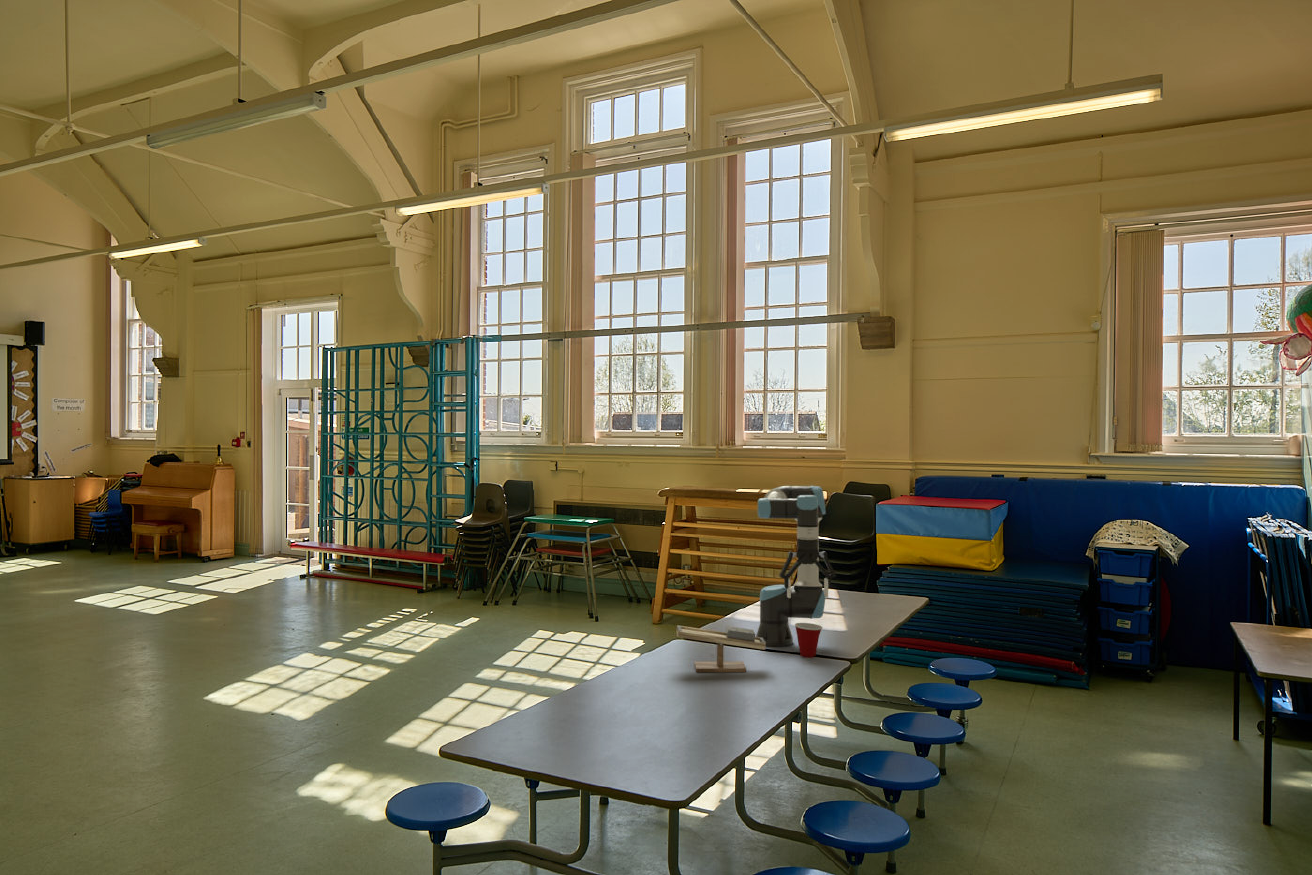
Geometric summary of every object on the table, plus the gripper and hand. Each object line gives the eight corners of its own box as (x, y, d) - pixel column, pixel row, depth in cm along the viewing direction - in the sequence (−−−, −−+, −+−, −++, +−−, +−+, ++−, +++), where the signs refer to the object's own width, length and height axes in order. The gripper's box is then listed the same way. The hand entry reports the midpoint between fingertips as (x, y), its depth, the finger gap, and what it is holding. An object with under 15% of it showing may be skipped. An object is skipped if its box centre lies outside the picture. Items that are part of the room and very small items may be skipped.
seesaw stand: (694, 664, 326) (694, 640, 326) (742, 664, 327) (742, 640, 327) (696, 672, 316) (696, 647, 316) (746, 671, 317) (746, 647, 317)
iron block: (725, 635, 325) (726, 625, 325) (751, 639, 325) (753, 629, 325) (726, 639, 318) (728, 630, 318) (754, 643, 318) (755, 633, 318)
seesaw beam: (676, 633, 326) (677, 624, 326) (761, 645, 327) (762, 637, 327) (677, 639, 316) (678, 630, 316) (764, 652, 317) (766, 643, 317)
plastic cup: (825, 659, 334) (825, 627, 334) (796, 659, 335) (796, 627, 335) (820, 652, 345) (820, 621, 345) (792, 652, 346) (792, 621, 346)
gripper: (775, 539, 312) (775, 599, 312) (844, 539, 313) (844, 598, 313) (771, 537, 319) (771, 595, 319) (838, 536, 321) (838, 594, 321)
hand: (807, 597), depth 316 cm, fingers open, 13 cm apart
